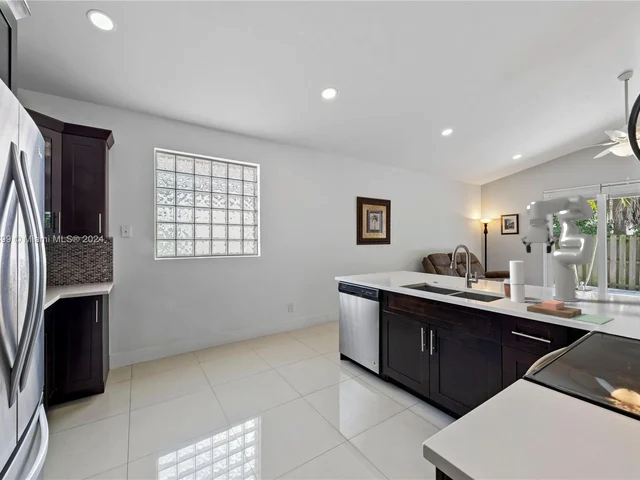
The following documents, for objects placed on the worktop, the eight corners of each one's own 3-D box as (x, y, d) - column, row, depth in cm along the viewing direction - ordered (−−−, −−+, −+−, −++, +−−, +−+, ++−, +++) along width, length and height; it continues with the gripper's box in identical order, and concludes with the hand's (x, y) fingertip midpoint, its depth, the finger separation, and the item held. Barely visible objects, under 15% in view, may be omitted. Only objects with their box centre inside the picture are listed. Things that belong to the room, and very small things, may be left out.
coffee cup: (500, 296, 191) (500, 278, 191) (515, 296, 189) (515, 278, 189) (506, 299, 182) (506, 280, 182) (522, 299, 180) (521, 280, 180)
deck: (540, 307, 158) (540, 303, 158) (581, 314, 142) (581, 309, 142) (526, 311, 151) (526, 306, 151) (568, 318, 135) (568, 313, 135)
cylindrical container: (520, 300, 178) (519, 260, 178) (527, 302, 171) (526, 261, 171) (508, 300, 178) (507, 260, 179) (515, 302, 171) (513, 261, 171)
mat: (583, 314, 142) (583, 313, 142) (613, 319, 132) (613, 318, 132) (570, 318, 135) (569, 318, 135) (600, 324, 125) (600, 323, 125)
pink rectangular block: (550, 305, 151) (550, 300, 152) (564, 307, 146) (564, 301, 146) (542, 307, 147) (541, 302, 147) (555, 310, 142) (555, 304, 142)
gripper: (559, 222, 153) (560, 253, 153) (524, 224, 168) (525, 252, 168) (553, 221, 150) (553, 253, 149) (517, 223, 165) (518, 252, 164)
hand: (538, 253), depth 158 cm, fingers open, 9 cm apart
